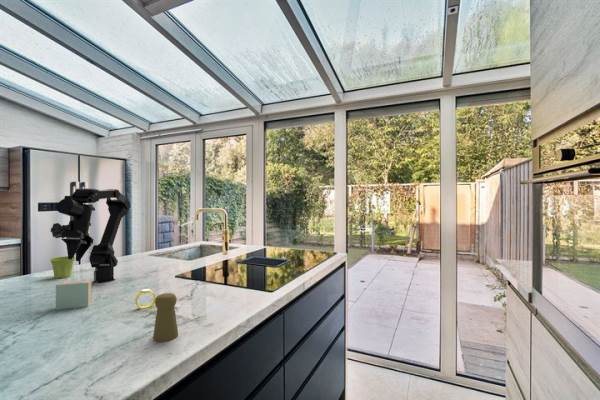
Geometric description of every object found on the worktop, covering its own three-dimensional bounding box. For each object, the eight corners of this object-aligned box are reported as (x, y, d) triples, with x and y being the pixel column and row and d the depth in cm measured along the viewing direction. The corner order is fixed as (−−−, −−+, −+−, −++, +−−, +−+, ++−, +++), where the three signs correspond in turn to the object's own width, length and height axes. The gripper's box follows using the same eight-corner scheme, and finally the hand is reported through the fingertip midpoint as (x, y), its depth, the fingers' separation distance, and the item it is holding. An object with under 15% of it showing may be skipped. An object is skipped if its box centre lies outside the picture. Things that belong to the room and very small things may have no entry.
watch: (153, 305, 104) (155, 287, 104) (155, 307, 102) (157, 289, 102) (134, 308, 100) (135, 289, 101) (135, 310, 98) (137, 291, 98)
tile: (59, 306, 102) (59, 282, 102) (91, 303, 105) (91, 280, 105) (55, 309, 99) (55, 284, 99) (88, 306, 102) (88, 282, 102)
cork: (158, 331, 83) (158, 291, 83) (181, 331, 83) (181, 290, 83) (149, 342, 77) (149, 298, 77) (173, 341, 77) (174, 297, 77)
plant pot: (80, 275, 144) (80, 256, 144) (59, 280, 135) (59, 260, 135) (66, 273, 147) (66, 255, 147) (44, 278, 138) (44, 259, 138)
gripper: (64, 222, 125) (56, 261, 121) (47, 212, 108) (37, 257, 104) (96, 224, 129) (90, 262, 124) (84, 215, 112) (76, 258, 108)
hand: (73, 260), depth 115 cm, fingers open, 9 cm apart
